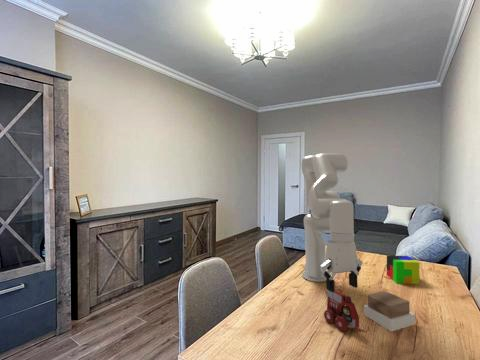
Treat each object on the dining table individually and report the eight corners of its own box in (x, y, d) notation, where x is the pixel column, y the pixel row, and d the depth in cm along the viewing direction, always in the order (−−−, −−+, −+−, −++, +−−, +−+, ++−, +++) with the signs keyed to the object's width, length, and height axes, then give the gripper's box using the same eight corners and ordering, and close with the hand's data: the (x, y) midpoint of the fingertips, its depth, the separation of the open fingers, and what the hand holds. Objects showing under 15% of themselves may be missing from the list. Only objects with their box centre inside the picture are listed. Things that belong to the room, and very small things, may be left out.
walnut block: (367, 306, 94) (367, 295, 94) (385, 301, 97) (385, 291, 97) (390, 318, 86) (390, 306, 86) (409, 313, 89) (409, 301, 89)
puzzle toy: (407, 275, 132) (407, 256, 131) (419, 284, 122) (419, 262, 122) (386, 275, 133) (386, 255, 132) (396, 283, 123) (396, 261, 123)
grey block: (363, 316, 95) (363, 305, 95) (386, 310, 99) (386, 299, 99) (391, 333, 85) (391, 320, 85) (415, 325, 89) (414, 314, 89)
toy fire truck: (349, 336, 82) (349, 303, 82) (320, 318, 93) (320, 288, 93) (364, 330, 85) (364, 298, 85) (334, 313, 96) (334, 284, 96)
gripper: (352, 233, 95) (353, 281, 95) (313, 237, 89) (313, 288, 89) (370, 237, 88) (370, 288, 88) (328, 241, 82) (328, 297, 82)
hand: (342, 288), depth 88 cm, fingers open, 9 cm apart
